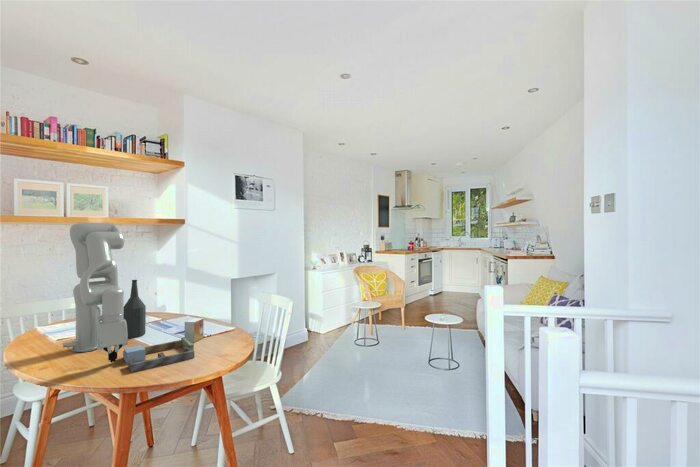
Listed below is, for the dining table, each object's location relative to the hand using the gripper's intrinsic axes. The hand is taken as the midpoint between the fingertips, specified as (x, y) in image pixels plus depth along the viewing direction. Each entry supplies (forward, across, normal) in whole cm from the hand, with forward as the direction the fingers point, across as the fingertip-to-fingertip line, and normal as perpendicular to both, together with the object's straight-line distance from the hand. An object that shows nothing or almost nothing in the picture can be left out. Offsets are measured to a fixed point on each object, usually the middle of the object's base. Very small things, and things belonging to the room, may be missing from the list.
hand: (112, 361), depth 143 cm
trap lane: (+1, +17, -4) cm, 18 cm away
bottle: (+2, +14, +39) cm, 41 cm away
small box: (+2, +36, +11) cm, 37 cm away
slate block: (+2, +8, 0) cm, 8 cm away
